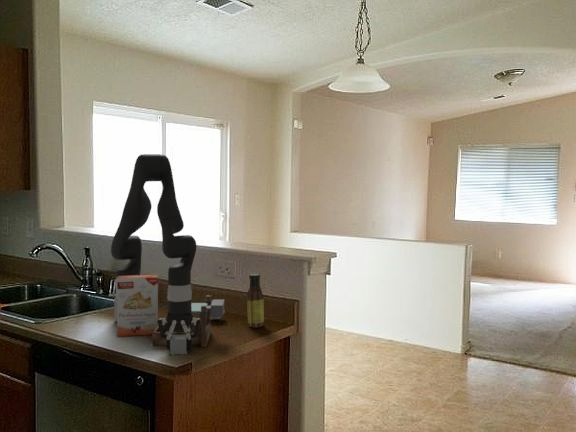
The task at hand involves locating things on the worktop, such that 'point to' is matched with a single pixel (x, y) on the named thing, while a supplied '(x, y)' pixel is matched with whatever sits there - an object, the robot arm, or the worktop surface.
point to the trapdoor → (210, 308)
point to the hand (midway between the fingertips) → (179, 350)
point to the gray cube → (178, 344)
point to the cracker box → (137, 305)
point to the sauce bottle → (255, 302)
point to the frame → (202, 333)
